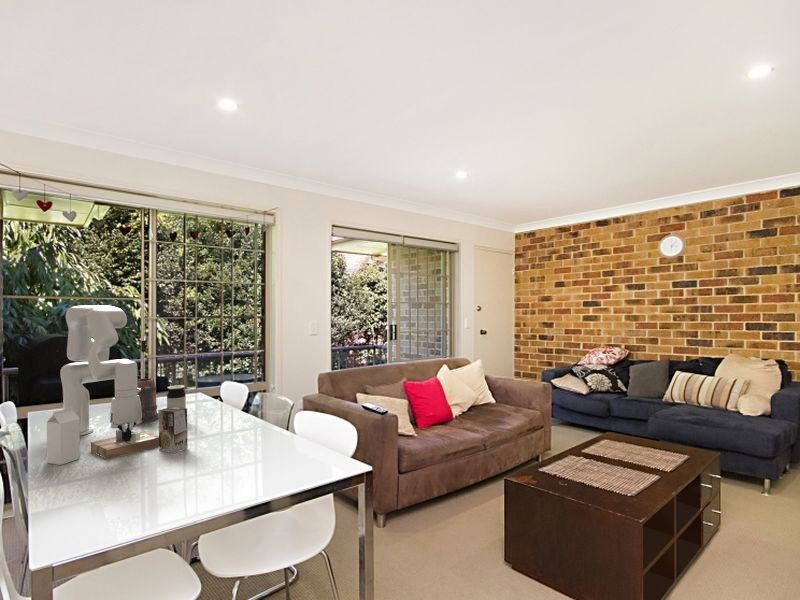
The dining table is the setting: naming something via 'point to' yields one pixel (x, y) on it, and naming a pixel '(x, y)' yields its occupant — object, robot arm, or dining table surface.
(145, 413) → the tankard
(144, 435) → the board
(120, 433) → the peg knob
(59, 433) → the milk carton
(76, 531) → the dining table surface
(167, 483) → the dining table surface
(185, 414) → the coffee box
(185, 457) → the dining table surface
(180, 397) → the travel mug
